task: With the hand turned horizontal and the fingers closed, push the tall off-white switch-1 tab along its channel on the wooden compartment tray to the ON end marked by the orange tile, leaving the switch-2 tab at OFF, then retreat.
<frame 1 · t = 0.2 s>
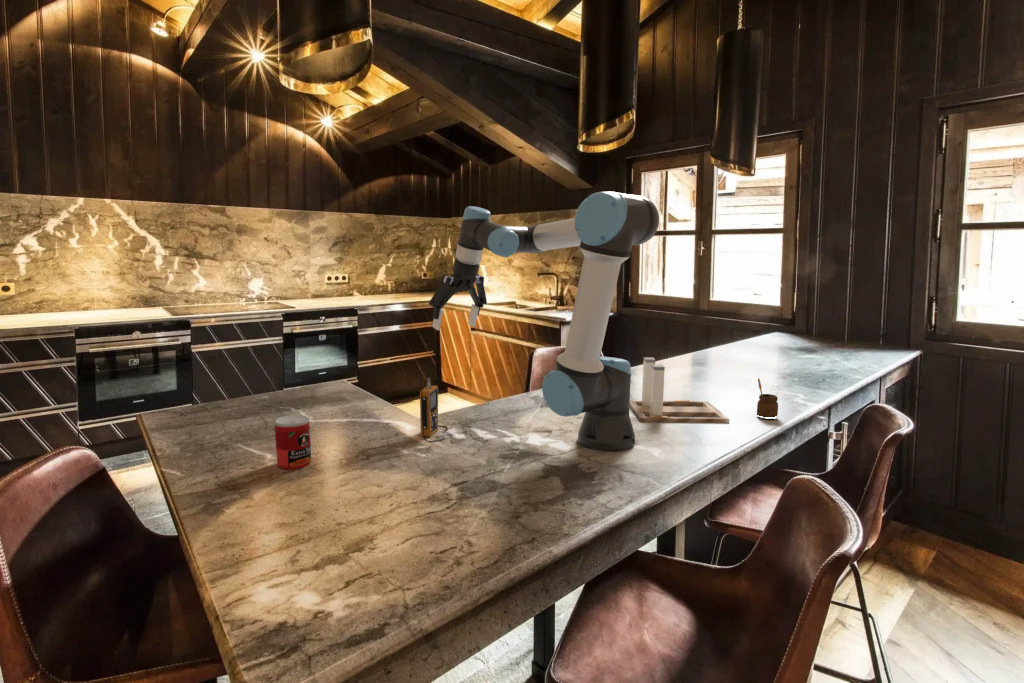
hand: (454, 326, 175), 28 cm above the kitchen island, tool tilted 20°, fingers open, 13 cm apart
wooden compartment tray: (675, 416, 178), on the kitchen island
switch 1: (648, 383, 183), point 9 cm above the kitchen island, slide at 0.0 cm
canned food: (294, 464, 137), on the kitchen island
multimeter: (442, 435, 160), on the kitchen island
switch 2: (656, 392, 171), point 9 cm above the kitchen island, slide at 0.0 cm
utensil holder: (766, 418, 178), on the kitchen island
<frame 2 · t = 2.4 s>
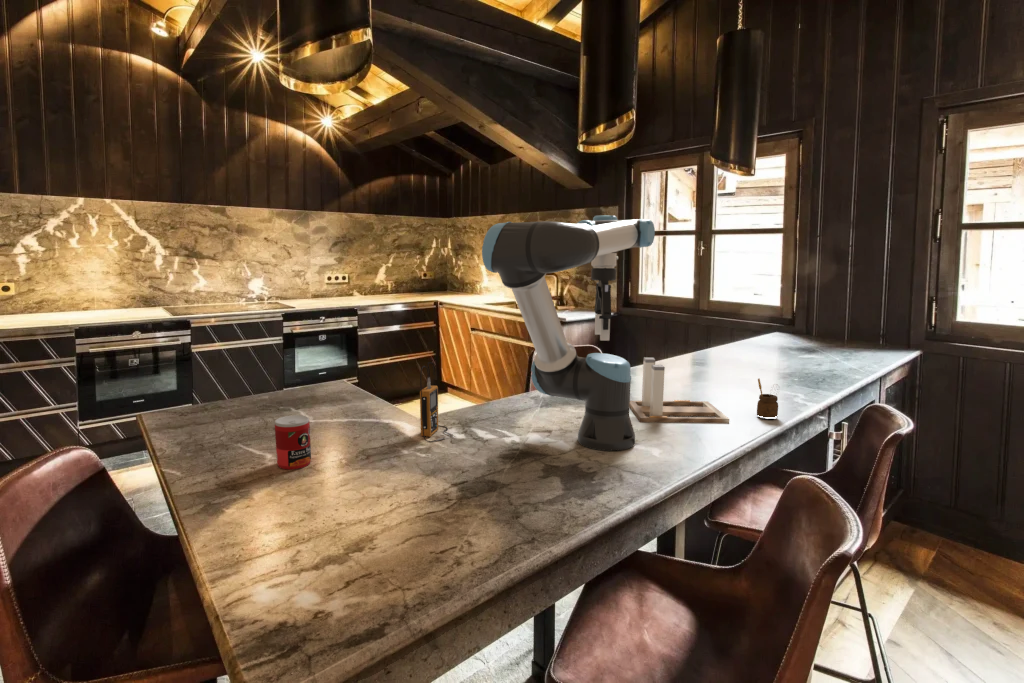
hand: (601, 337, 178), 24 cm above the kitchen island, tool pointing down, fingers open, 12 cm apart
nothing on the kitchen island moved.
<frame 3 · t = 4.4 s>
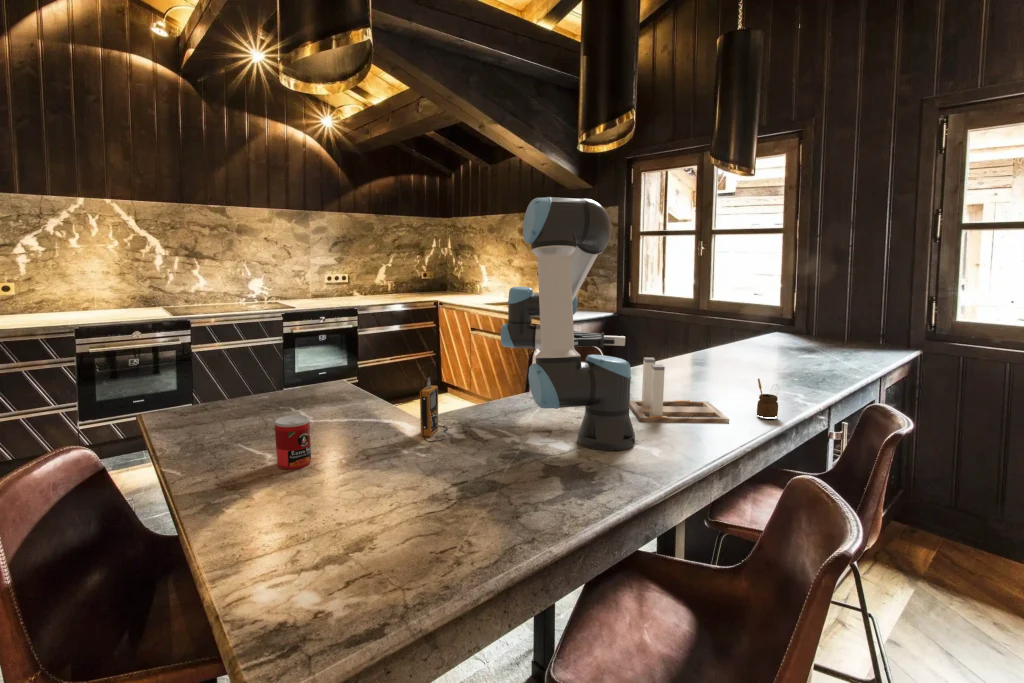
hand: (624, 341, 180), 23 cm above the kitchen island, tool horizontal, fingers closed
nothing on the kitchen island moved.
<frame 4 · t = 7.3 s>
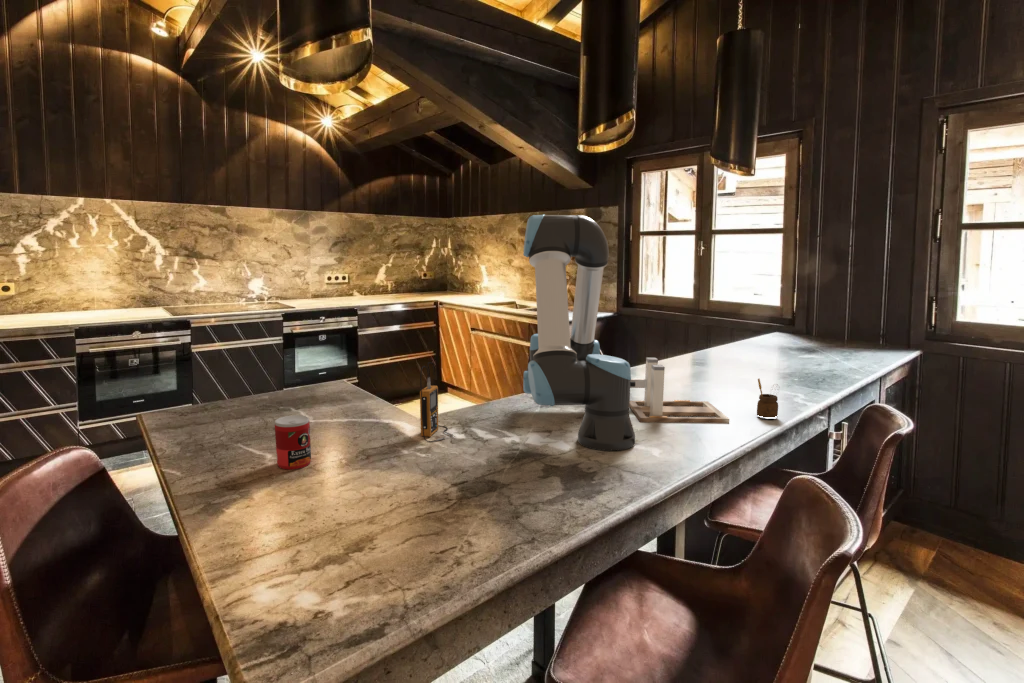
hand: (644, 383, 184), 9 cm above the kitchen island, tool horizontal, fingers closed
switch 1: (650, 383, 183), point 9 cm above the kitchen island, slide at 0.8 cm, touching gripper
everything else where it was.
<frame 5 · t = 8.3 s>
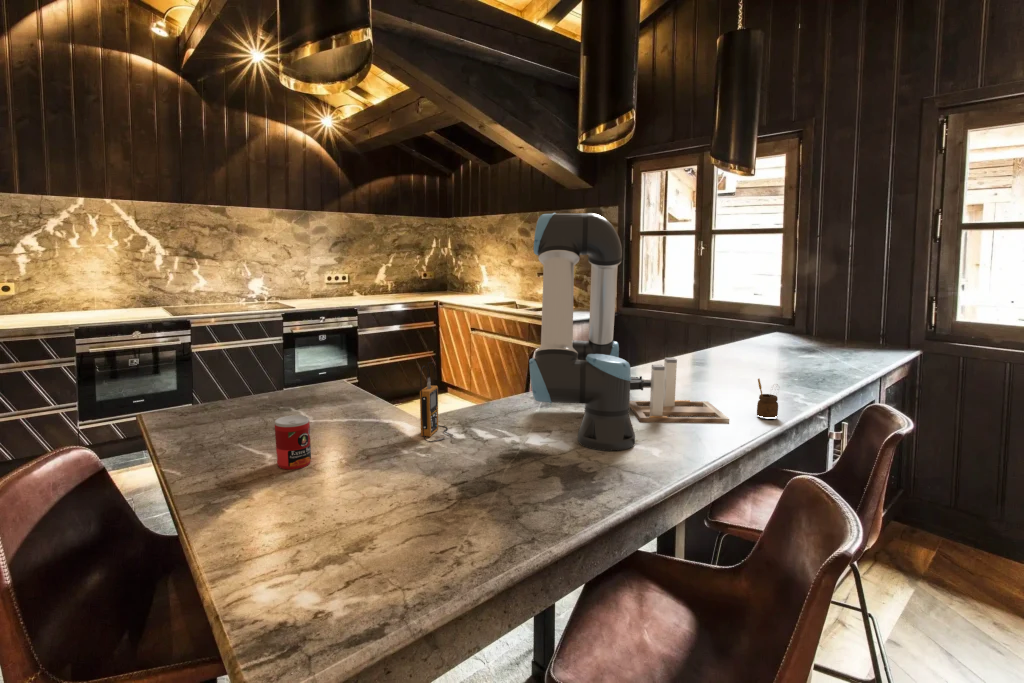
hand: (663, 383, 184), 9 cm above the kitchen island, tool horizontal, fingers closed
switch 1: (669, 383, 183), point 9 cm above the kitchen island, slide at 6.7 cm, touching gripper
everything else where it was.
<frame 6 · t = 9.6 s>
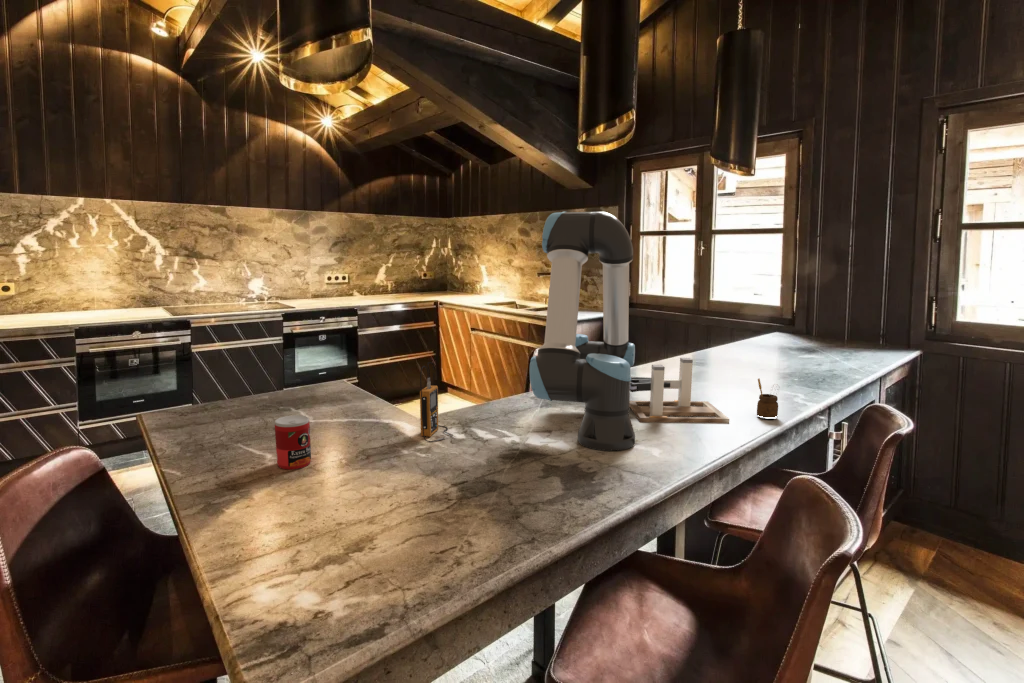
hand: (679, 384, 183), 9 cm above the kitchen island, tool horizontal, fingers closed
switch 1: (685, 383, 183), point 9 cm above the kitchen island, slide at 11.6 cm, touching gripper
everything else where it was.
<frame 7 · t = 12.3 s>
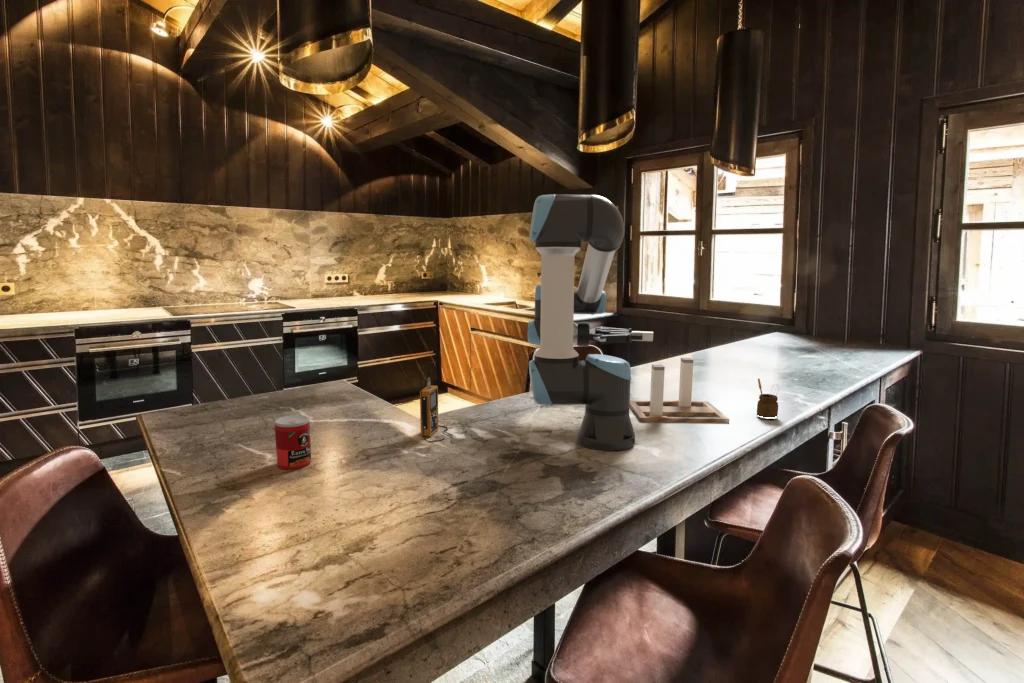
hand: (652, 336, 179), 25 cm above the kitchen island, tool horizontal, fingers closed
switch 1: (685, 383, 183), point 9 cm above the kitchen island, slide at 11.9 cm
everything else where it was.
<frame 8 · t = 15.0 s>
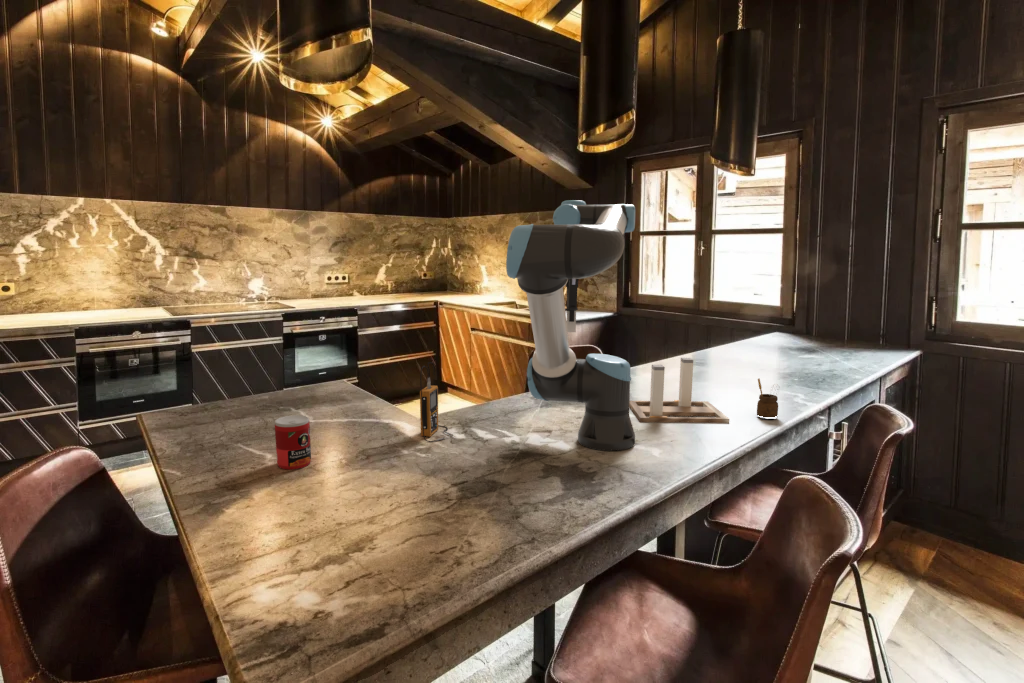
hand: (571, 331, 175), 26 cm above the kitchen island, tool pointing down, fingers closed
nothing on the kitchen island moved.
at the end: switch 1 slide at 11.9 cm; switch 2 slide at 0.0 cm; switch 1 touching nothing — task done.
